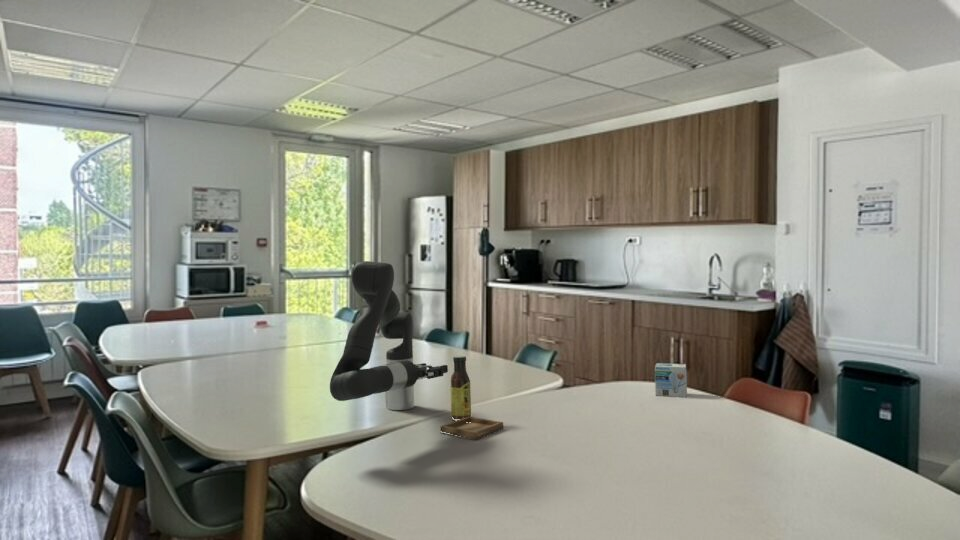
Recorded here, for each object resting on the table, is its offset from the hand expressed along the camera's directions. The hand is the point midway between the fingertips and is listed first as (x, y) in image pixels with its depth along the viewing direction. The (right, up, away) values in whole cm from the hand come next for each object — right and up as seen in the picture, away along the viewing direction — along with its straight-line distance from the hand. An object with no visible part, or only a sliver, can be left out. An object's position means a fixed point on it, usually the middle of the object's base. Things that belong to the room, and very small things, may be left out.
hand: (436, 367), depth 166 cm
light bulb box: (+82, -16, +34) cm, 91 cm away
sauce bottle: (+7, -18, +9) cm, 21 cm away
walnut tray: (+11, -18, -5) cm, 21 cm away
